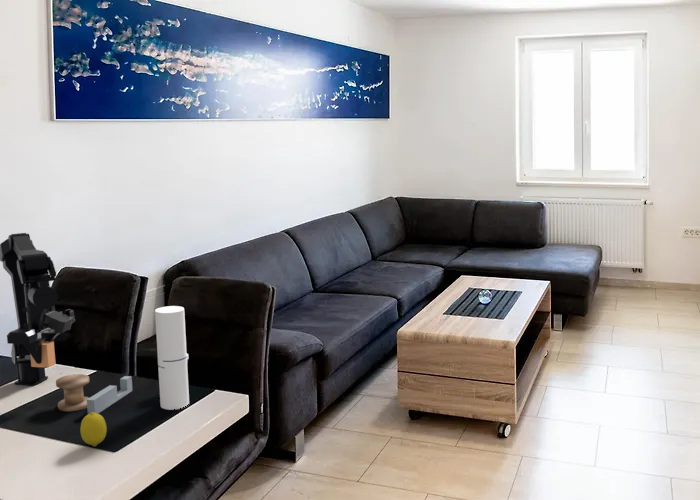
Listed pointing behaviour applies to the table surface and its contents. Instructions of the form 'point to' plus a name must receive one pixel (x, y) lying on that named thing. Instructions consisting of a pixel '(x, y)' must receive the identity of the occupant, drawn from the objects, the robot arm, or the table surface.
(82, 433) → the lemon
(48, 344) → the orange block
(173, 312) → the cylindrical container
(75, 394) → the bobbin
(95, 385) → the table surface
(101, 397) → the notch board
